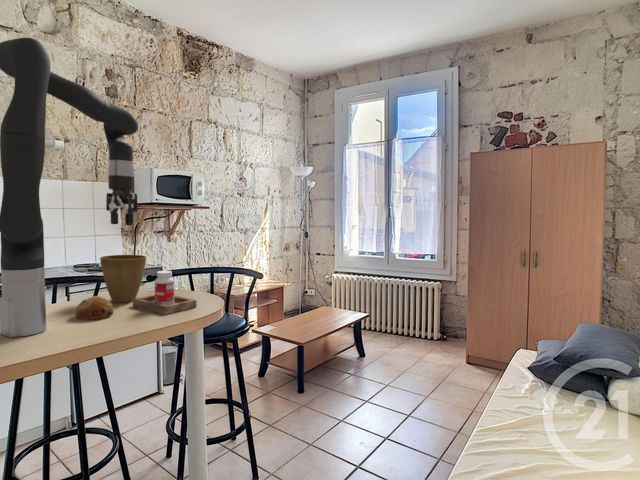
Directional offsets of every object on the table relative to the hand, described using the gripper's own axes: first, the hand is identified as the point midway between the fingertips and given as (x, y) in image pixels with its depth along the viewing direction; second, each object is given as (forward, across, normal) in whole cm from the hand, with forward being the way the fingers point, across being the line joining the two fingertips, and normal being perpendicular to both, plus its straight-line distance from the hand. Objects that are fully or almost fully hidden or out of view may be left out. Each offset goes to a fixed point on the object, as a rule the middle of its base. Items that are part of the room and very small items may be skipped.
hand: (121, 224), depth 132 cm
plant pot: (+28, +9, -6) cm, 30 cm away
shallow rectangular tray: (+28, -10, -9) cm, 31 cm away
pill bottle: (+27, -10, -9) cm, 30 cm away
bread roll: (+28, -4, +10) cm, 30 cm away
